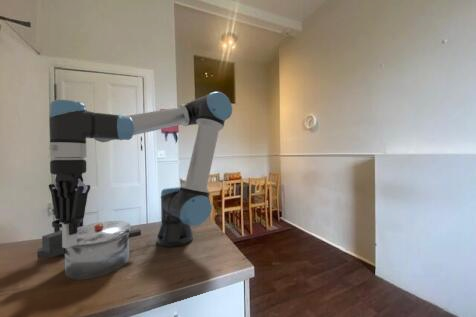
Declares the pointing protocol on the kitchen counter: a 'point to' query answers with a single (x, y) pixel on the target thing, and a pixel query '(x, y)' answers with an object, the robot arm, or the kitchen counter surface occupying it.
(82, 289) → the kitchen counter surface
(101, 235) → the lid
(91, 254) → the pressure cooker pot
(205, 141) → the robot arm
